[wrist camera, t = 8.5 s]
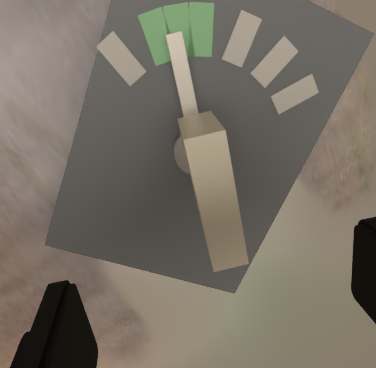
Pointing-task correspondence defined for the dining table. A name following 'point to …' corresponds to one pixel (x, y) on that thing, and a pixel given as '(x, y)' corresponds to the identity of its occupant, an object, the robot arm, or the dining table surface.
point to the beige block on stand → (207, 168)
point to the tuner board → (206, 101)
